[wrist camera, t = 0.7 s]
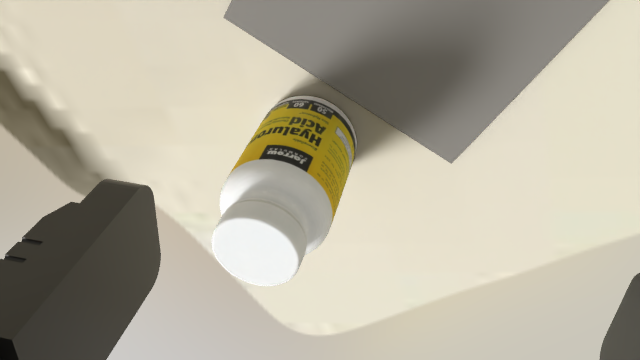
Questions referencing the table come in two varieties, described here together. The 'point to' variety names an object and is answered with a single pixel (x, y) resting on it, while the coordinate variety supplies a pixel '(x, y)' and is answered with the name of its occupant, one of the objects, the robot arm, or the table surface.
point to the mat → (420, 54)
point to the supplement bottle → (284, 190)
